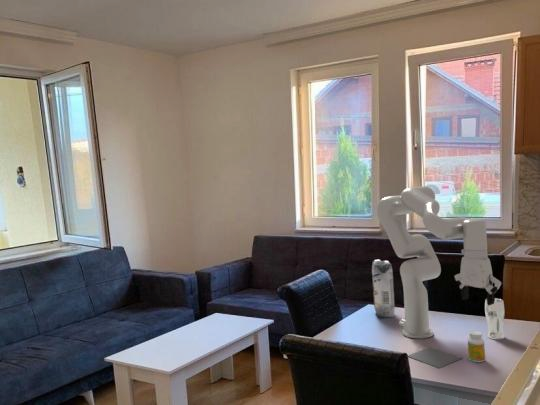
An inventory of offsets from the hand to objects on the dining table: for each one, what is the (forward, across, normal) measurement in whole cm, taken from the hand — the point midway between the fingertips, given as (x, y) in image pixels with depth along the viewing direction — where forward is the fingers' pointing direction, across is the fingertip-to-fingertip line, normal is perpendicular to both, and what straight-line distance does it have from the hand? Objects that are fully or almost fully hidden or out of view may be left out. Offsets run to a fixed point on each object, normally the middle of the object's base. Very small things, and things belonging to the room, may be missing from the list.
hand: (477, 301), depth 161 cm
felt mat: (+21, -12, -10) cm, 26 cm away
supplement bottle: (+21, 0, -2) cm, 21 cm away
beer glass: (+21, -8, +24) cm, 33 cm away
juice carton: (+21, -58, +14) cm, 63 cm away
